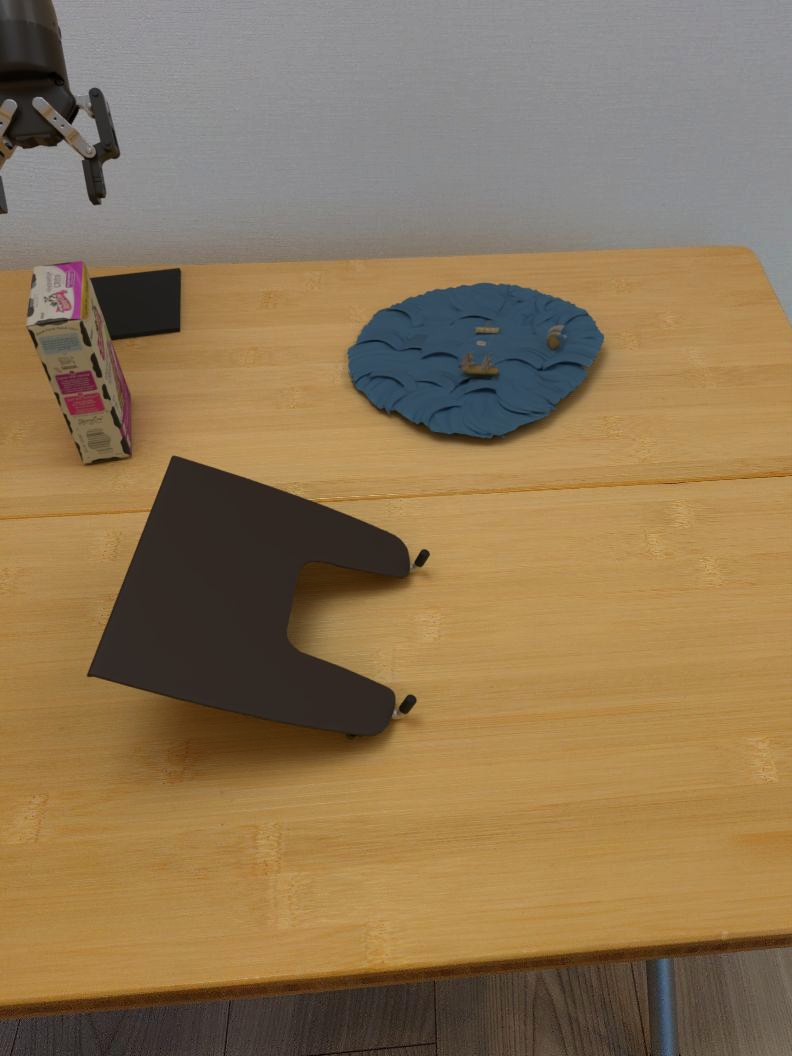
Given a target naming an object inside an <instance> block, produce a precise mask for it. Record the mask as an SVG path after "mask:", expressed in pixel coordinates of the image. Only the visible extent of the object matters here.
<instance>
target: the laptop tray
mask: <svg viewBox="0 0 792 1056" xmlns="http://www.w3.org/2000/svg"><path fill="white" fill-rule="evenodd" d="M165 470H166V471H165V473H164V475H163V478H162V481H161V484H160V486H159V489H158V491H157V494H156V495H155V498H154V500H153V501H154V502H153V504H152V506H151V509H150V511H149V514H148V516H147V519H146V522H145V524H144V527H143V529H142V532H141V535H140V537H139V540H138V541H137V544H136V547H135V550H134V552H133V555H132V557H131V560H130V562H129V564H128V568H127V570H126V573H125V576H124V578H123V581H122V583H121V585H120V588H119V591H118V593H117V596H116V599H115V602H114V604H113V606H112V608H111V611H110V614H109V617H108V618H107V619H108V620H107V621H106V624H105V627H104V630H103V632H102V634H101V637H100V640H99V643H98V645H97V647H96V650H95V652H94V655H93V658H92V661H91V663H90V665H89V669H88V671H87V674H86V677H87V678H96V679H100V680H104V681H108V682H111V683H115V684H118V685H121V686H126V687H129V688H132V689H136V690H139V691H143V692H148V693H151V694H153V695H159V696H163V697H166V698H170V699H174V700H178V701H182V702H185V703H189V704H193V705H198V706H202V707H205V708H211V709H215V710H219V711H224V712H226V713H227V712H228V713H232V714H236V715H241V716H245V717H248V718H249V717H250V718H254V719H259V720H263V721H267V722H273V723H277V724H281V725H282V724H283V725H288V726H293V727H300V728H304V729H311V730H317V731H321V732H322V731H323V732H328V733H335V734H343V735H345V737H346V739H347V740H348V741H353V740H355V739H357V738H365V737H374V736H378V735H380V734H381V733H383V732H384V731H385V730H386V729H387V727H388V726H389V724H390V722H391V720H402V719H403V718H405V717H407V715H408V714H410V712H411V711H412V709H413V708H414V706H415V705H416V703H418V699H417V697H416V696H415V695H414V694H411V693H409V694H406V696H405V698H404V699H403V700H402V702H401V703H400V705H399V706H398V708H395V707H396V701H397V699H396V698H397V697H396V693H395V692H394V690H393V689H391V688H390V687H388V686H386V685H384V684H382V683H380V682H378V681H376V680H373V679H371V678H369V677H367V676H364V675H361V674H360V673H358V672H355V671H353V670H350V669H348V668H346V667H344V666H341V665H338V664H335V663H333V662H330V661H327V660H325V659H322V658H319V657H316V656H313V655H311V654H308V653H306V652H303V651H301V650H299V648H296V647H295V646H294V645H293V644H292V642H291V641H290V639H289V636H288V630H289V629H288V628H289V623H290V622H289V621H290V617H291V611H292V607H293V603H294V602H293V601H294V598H295V593H296V589H297V585H298V580H299V576H300V572H301V570H302V569H303V567H304V566H306V565H308V564H312V563H318V564H325V565H328V566H333V567H336V568H341V569H345V570H349V571H354V572H357V573H358V572H359V573H364V574H369V575H376V576H382V577H387V578H393V579H406V578H407V577H408V576H409V575H410V574H415V573H418V572H419V571H420V570H421V569H422V568H423V567H424V566H425V564H426V562H427V561H428V559H429V558H430V555H431V553H430V551H429V550H428V549H426V548H422V549H421V550H419V553H418V555H417V556H416V558H415V560H414V562H413V563H411V558H410V552H409V550H408V546H407V545H406V544H405V542H403V540H402V539H401V538H400V537H398V536H397V535H395V534H393V533H391V532H389V531H387V530H385V529H382V528H380V527H378V526H375V525H373V524H371V523H368V522H366V521H364V520H362V519H359V518H357V517H355V516H352V515H350V514H347V513H344V512H342V511H339V510H337V509H334V508H332V507H329V506H326V505H324V504H321V503H320V502H319V503H318V502H316V501H313V500H311V499H308V498H305V497H302V496H300V495H297V494H294V493H290V492H288V491H285V490H283V489H279V488H277V487H274V486H271V485H268V484H265V483H262V482H259V481H257V480H253V479H250V478H248V477H244V476H241V475H238V474H235V473H232V472H229V471H225V470H222V469H220V468H217V467H213V466H210V465H207V464H204V463H200V462H198V461H195V460H191V459H188V458H185V457H182V456H178V455H172V456H171V457H170V461H169V463H168V465H167V467H166V469H165Z"/></svg>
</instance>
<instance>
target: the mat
mask: <svg viewBox="0 0 792 1056" xmlns="http://www.w3.org/2000/svg"><path fill="white" fill-rule="evenodd" d="M90 280H91V283H92V286H93V288H94V291H95V294H96V297H97V300H98V303H99V305H100V308H101V311H102V314H103V317H104V320H105V323H106V327H107V329H108V332H109V335H110V338H111V341H115V340H122V339H129V338H132V339H133V338H138V337H146V336H154V335H156V336H157V335H164V334H172V333H179V332H181V299H182V298H181V297H182V296H181V295H182V294H181V293H182V289H181V288H182V271H181V268H180V267H176V268H175V267H174V268H165V269H157V270H149V271H147V270H146V271H139V272H131V273H130V272H129V273H121V274H120V273H119V274H113V275H104V276H95V277H90Z"/></svg>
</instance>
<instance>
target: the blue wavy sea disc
mask: <svg viewBox="0 0 792 1056" xmlns="http://www.w3.org/2000/svg"><path fill="white" fill-rule="evenodd" d="M604 340H605V334H604V333H602V331H601V330H600V329H599V327H598V326H597V321H596V320H594V318H593V317H592V316H591V315H590V314H589V312H588V311H587V309H584V308H581V307H578V306H577V305H576V303H572V302H570V300H564V299H563V298H561V297H559V296H558V297H555V296H553V295H551V294H546V293H543V292H540V291H538V290H537V289H532V288H530V287H522V286H520V285H517V284H511V283H509V284H506V283H501V282H500V283H499V284H495V283H491V282H477V283H473V284H472V285H471V284H470V285H467V284H461V285H459V286H456V287H453V286H450V287H446V288H435V289H433V290H427V291H426V292H425V293H422V294H418V295H416V296H410V297H407V298H406V299H404V300H402V301H401V302H397V303H395V304H391V306H389V307H386V308H382V309H379V310H378V311H377V312H376V313H374V314H373V315H372V318H371V319H370V320H369V322H368V323H367V324H365V325H364V326H363V327H362V329H361V331H360V334H358V335H357V336H356V342H355V344H353V345H351V346H350V347H348V348H347V357H348V363H347V367H348V371H349V377H353V378H352V381H351V383H352V384H353V385H354V386H355V388H356V389H357V390H358V391H359V392H363V393H364V395H365V396H366V397H367V399H368V400H369V401H370V402H371V403H372V404H373V405H374V407H377V409H378V410H382V409H383V408H384V409H385V411H386V413H387V415H390V414H391V411H396V412H397V413H399V414H401V415H402V416H403V417H404V418H406V419H408V420H409V421H410V422H412V423H415V424H417V425H419V424H420V423H423V425H425V426H426V427H427V428H429V430H430V432H436V433H444V434H447V435H452V434H455V433H457V434H461V435H467V436H472V437H478V438H480V439H484V438H487V439H492V437H493V436H494V435H495V436H497V437H500V438H501V439H503V438H505V436H504V435H505V434H507V433H509V432H513V431H515V430H517V428H519V427H520V426H524V425H526V424H529V423H532V422H536V421H538V420H543V419H544V418H545V417H548V416H549V415H550V412H551V411H556V410H558V409H559V407H554V406H555V405H558V403H559V402H560V401H561V400H565V398H566V397H568V395H569V394H571V393H572V392H573V391H575V390H576V389H577V388H578V387H579V385H581V384H582V383H583V382H584V380H585V379H586V377H587V375H588V374H589V372H588V371H586V369H584V367H587V368H590V367H591V366H592V364H593V362H595V361H596V360H595V359H597V355H598V354H599V352H600V351H601V349H602V346H603V344H604ZM583 366H584V367H583Z"/></svg>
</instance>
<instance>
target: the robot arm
mask: <svg viewBox="0 0 792 1056" xmlns="http://www.w3.org/2000/svg"><path fill="white" fill-rule="evenodd" d="M62 39H63V38H62V31H61V27H60V25H59V21H58V16H57V12H56V9H55V6H54V3H53V0H0V171H1V170H2V169H3V166H4V165H5V163H6V162H7V160H9V159H11V158H12V156H13V155H14V153H15V151H16V149H17V147H20V148H22V150H28V149H34V148H37V147H41V146H42V147H47V148H53V147H58V144H60V143H61V142H63V141H64V142H65V143H66V144H67V145H68V146H69V147H70V148H72V150H74V151H75V152H76V153H77V154H79V156H81V157H82V160H81V165H82V172H83V177H84V181H85V188H86V191H87V197H88V200H89V202H90V203H91V204H92V206H101V205H102V199H106V198H107V193H108V191H107V187H106V182H105V176H104V171H103V165H104V164H105V163H106V162H108V161H109V160H118V159H119V158H120V156H121V149H120V145H119V141H118V137H117V133H116V129H115V125H114V120H113V117H112V113H111V109H110V104H109V102H108V100H107V99H106V97H105V95H104V93H103V91H102V90H101V89H100V88H99V87H91V88H89V90H88V93H83V94H74V93H72V91H71V87H70V81H69V75H68V71H67V65H66V59H65V53H64V48H63V42H62ZM80 110H83V111H85V113H86V114H87V116H88V118H90V119H93V120H94V121H95V126H96V129H97V133H98V137H99V142H96V143H94V144H93V145H92V144H91V143H90V142H89V141H88V140H87V139H86V138H85V137H83V135H82V134H81V133H79V131H78V130H77V129H76V128H75V127H74V126H73V123H74V121H75V119H76V118H77V116H78V115H79V112H80ZM8 214H9V209H8V204H7V198H6V193H5V187H4V182H3V177H2V176H1V175H0V215H8Z"/></svg>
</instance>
